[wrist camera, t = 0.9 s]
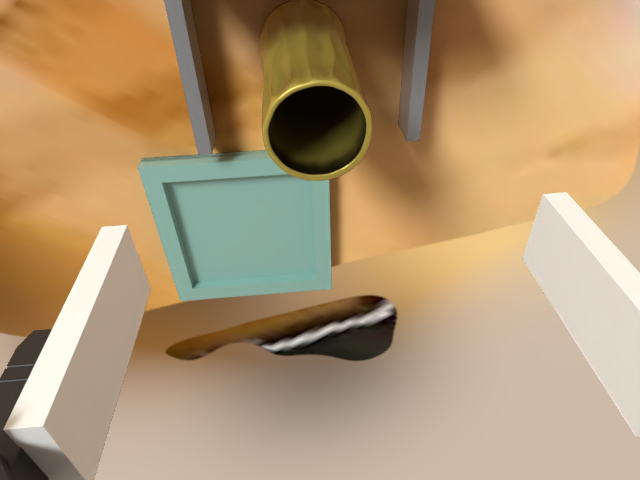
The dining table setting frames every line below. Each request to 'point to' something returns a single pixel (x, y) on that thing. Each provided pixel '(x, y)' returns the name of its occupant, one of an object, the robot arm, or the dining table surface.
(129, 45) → the dining table surface
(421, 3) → the dock
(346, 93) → the vase
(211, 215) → the tray
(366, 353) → the dining table surface
